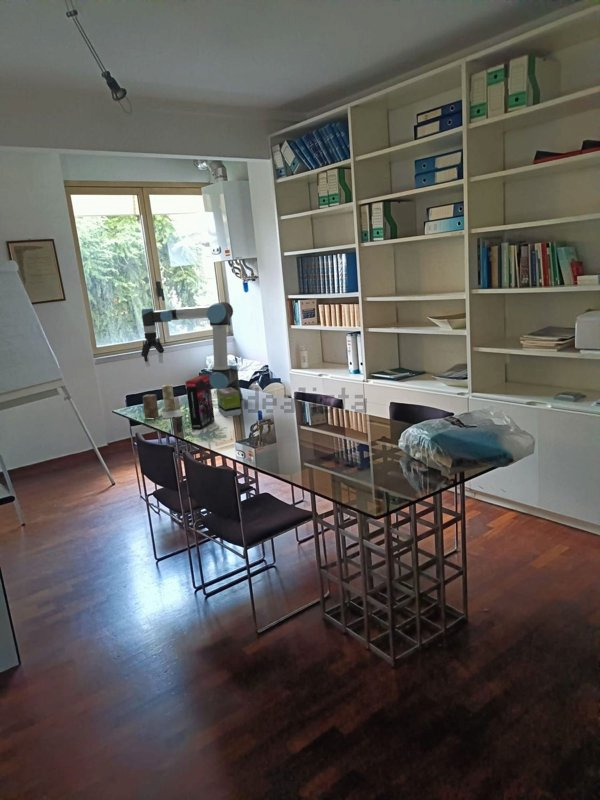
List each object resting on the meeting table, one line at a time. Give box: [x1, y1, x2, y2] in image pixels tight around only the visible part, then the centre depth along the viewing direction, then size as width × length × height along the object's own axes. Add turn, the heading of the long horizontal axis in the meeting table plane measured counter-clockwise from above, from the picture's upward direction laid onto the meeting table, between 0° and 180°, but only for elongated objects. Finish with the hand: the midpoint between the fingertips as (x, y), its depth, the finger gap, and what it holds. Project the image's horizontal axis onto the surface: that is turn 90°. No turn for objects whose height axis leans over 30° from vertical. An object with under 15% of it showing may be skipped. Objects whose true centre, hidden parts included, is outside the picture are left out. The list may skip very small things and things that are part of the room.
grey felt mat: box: [160, 409, 184, 419], centre depth 359 cm, size 12×18×1 cm, turn 18°
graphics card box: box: [185, 374, 216, 430], centre depth 325 cm, size 17×7×27 cm, turn 163°
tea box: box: [215, 387, 242, 418], centre depth 349 cm, size 15×10×15 cm, turn 25°
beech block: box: [161, 383, 176, 412], centre depth 369 cm, size 6×6×16 cm
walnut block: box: [142, 393, 160, 419], centre depth 352 cm, size 6×6×14 cm
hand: (154, 364), depth 383 cm, fingers open, 13 cm apart
